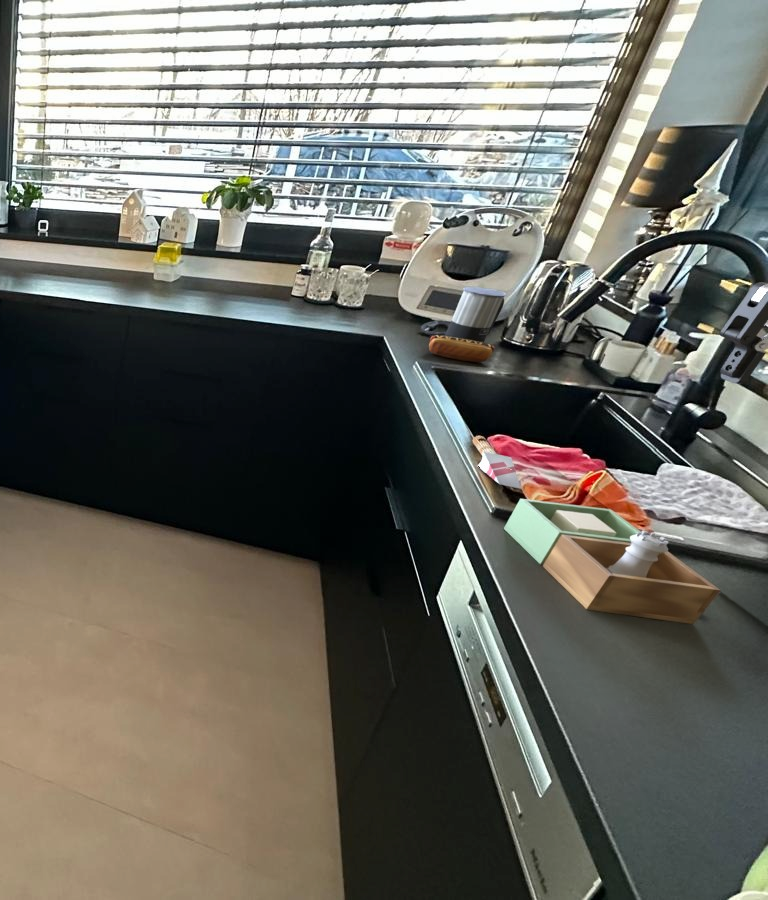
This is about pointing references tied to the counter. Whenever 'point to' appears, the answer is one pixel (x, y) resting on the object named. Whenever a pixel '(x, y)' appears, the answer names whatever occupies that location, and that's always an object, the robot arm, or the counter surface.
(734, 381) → the robot arm
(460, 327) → the milk frother
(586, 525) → the cream block
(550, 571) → the oak bin
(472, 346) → the hot dog
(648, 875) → the counter surface
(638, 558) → the rook chess piece
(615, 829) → the counter surface
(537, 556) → the sage bin
